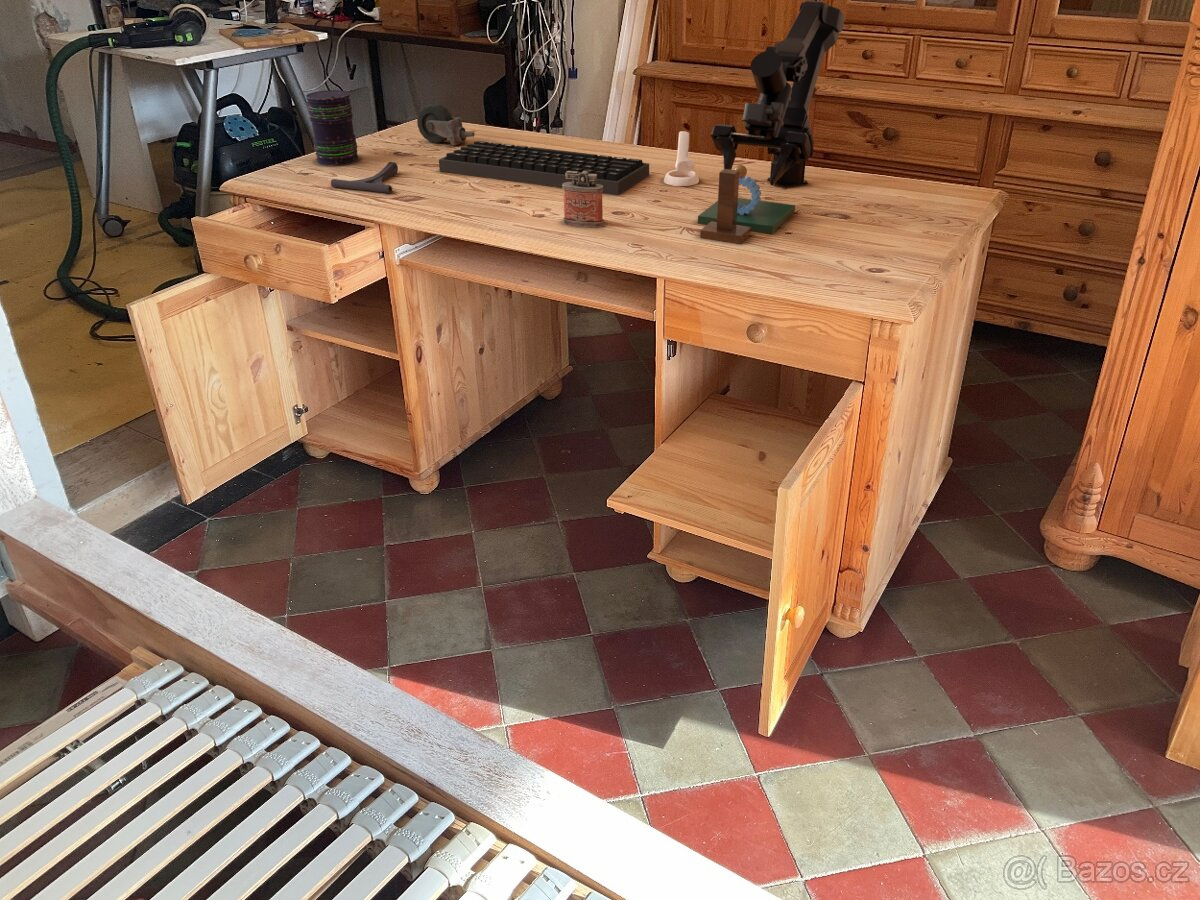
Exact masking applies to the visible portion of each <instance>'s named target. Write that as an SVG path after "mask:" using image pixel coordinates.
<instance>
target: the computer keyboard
mask: <svg viewBox="0 0 1200 900" xmlns="http://www.w3.org/2000/svg"><path fill="white" fill-rule="evenodd" d="M438 169H439V172H441V173H448V174H456V175H463V176H472V177H480V178H487V179H493V180H501V181H502V180H503V181H509V182H516V183H522V184H523V183H524V184H532V185H539V186H546V187H553V188H562V184H563V183H565V182H572V180H573V179H566V175H565V173H566V172H567V171H575V172H578V173H582V172H583V171H588V173H589V174H597V180H596V184H600V185H603V191H602V194H607V195H613V196H614V195H615V196H620V195H621V194H622V193H625V192H626V191H628V190H629V189H630V188H633V186H635V185H637V184H639V183H640V182H642V181H643V180H645V179H646V178H648V177H649V176H650V163H648V162H643V159H639V158H638V159H637V158H628V159H627V157H621V156H614V157H613V156H612V155H605V154H603V155H602V154H599V155H598V154H595V153H587V152H580V151H579V152H577V151H569V150H560V149H552V148H545V147H544V148H543V147H534V146H530V147H529V146H527V145H516V144H508V143H500V142H492V141H491V142H489V141H482V140H476V141H473V143H468V144H467V145H466V146H462V147H460V149H454V150H453V152H447V153H446V155H445V156H444V157H441V158H439V159H438ZM576 182H578V180H576ZM562 189H563V188H562Z"/></svg>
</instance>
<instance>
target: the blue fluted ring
mask: <svg viewBox="0 0 1200 900" xmlns="http://www.w3.org/2000/svg"><path fill="white" fill-rule="evenodd" d="M739 186H742V187H746V189H747V190H749V193H750V194H751V196H750V197H751V203H750V204H749V205H748V206H747V205H744V206H742V205H741V204H739V205H738V206H737V214H738V213H739V214H740V215H743V214H745V213H746V214H748V213H750V212H751V211H752V210H753V209H755V208H756V207H757V206H758V203H759V202H760V201H762V198H761V196H762V191H761V190H760V188H761V187H760V184H758V183H757V180H755V179H752V177H751V176H745V177H744V178H739Z"/></svg>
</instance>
